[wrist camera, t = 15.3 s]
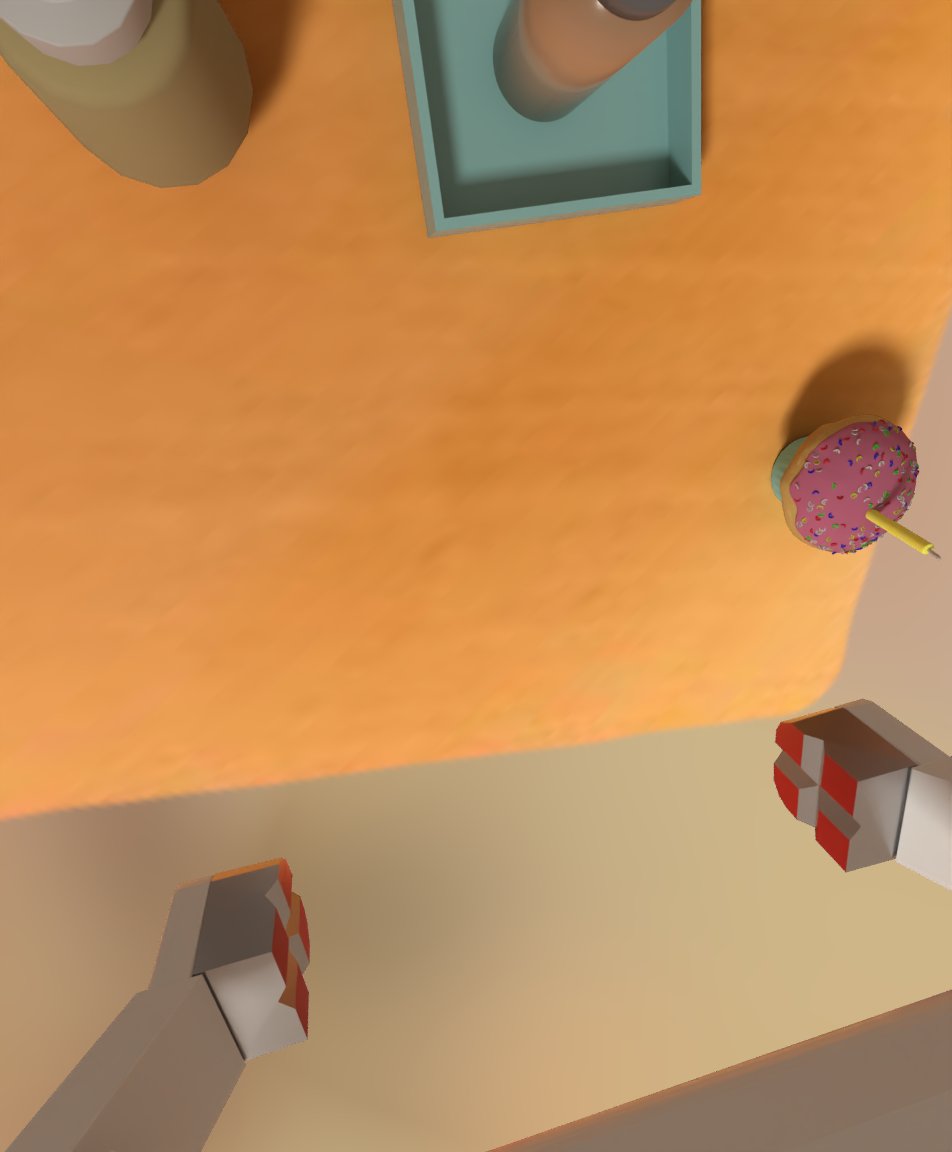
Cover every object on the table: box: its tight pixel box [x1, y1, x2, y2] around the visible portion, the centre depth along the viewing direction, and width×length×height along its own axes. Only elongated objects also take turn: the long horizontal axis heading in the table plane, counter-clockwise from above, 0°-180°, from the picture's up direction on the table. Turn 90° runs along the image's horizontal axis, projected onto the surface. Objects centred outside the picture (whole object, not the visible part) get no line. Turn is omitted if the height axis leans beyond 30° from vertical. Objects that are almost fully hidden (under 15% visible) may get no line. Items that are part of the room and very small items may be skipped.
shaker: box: [493, 0, 693, 122], centre depth 26 cm, size 5×5×12 cm
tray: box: [392, 0, 701, 238], centre depth 31 cm, size 14×14×3 cm
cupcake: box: [771, 414, 941, 560], centre depth 38 cm, size 9×8×12 cm
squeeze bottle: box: [0, 0, 253, 188], centre depth 22 cm, size 8×8×18 cm
